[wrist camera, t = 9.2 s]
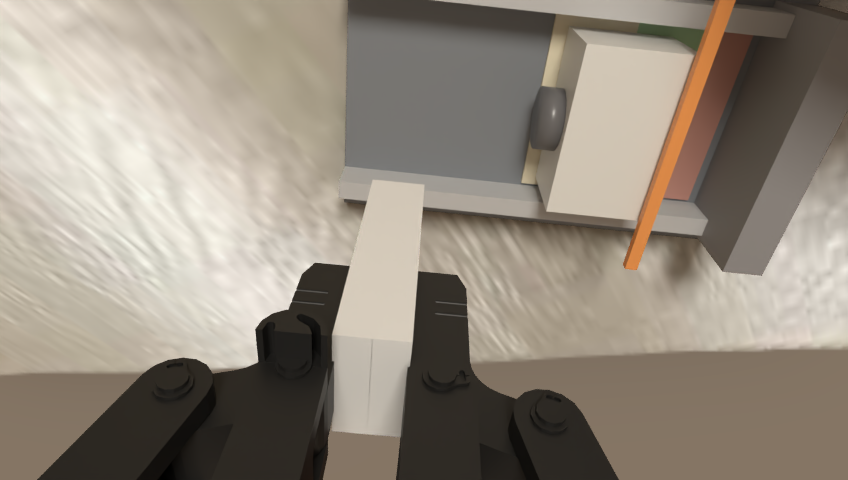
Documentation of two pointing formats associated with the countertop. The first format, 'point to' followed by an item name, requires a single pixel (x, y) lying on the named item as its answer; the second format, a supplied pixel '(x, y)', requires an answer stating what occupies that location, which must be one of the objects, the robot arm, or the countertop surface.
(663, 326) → the countertop surface
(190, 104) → the countertop surface
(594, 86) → the cream box orange strip
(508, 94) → the gauge base
